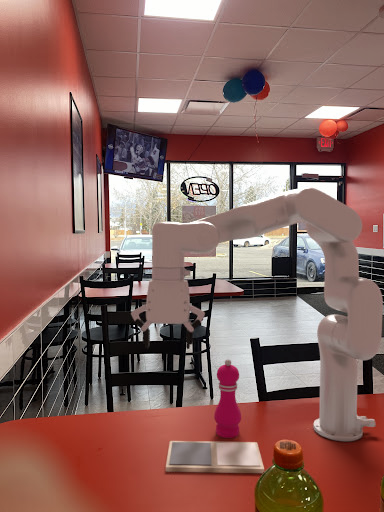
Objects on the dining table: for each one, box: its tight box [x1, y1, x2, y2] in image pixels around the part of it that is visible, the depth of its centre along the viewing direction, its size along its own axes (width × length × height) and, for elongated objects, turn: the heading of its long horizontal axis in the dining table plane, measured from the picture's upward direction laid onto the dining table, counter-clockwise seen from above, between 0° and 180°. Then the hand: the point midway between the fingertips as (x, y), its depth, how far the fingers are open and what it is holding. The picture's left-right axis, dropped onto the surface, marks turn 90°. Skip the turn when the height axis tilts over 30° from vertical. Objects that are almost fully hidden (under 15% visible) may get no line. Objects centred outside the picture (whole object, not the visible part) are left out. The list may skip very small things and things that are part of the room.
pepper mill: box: [213, 358, 242, 439], centre depth 110 cm, size 7×7×20 cm
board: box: [165, 440, 265, 474], centre depth 98 cm, size 22×12×1 cm, turn 88°
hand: (167, 347), depth 97 cm, fingers open, 9 cm apart
